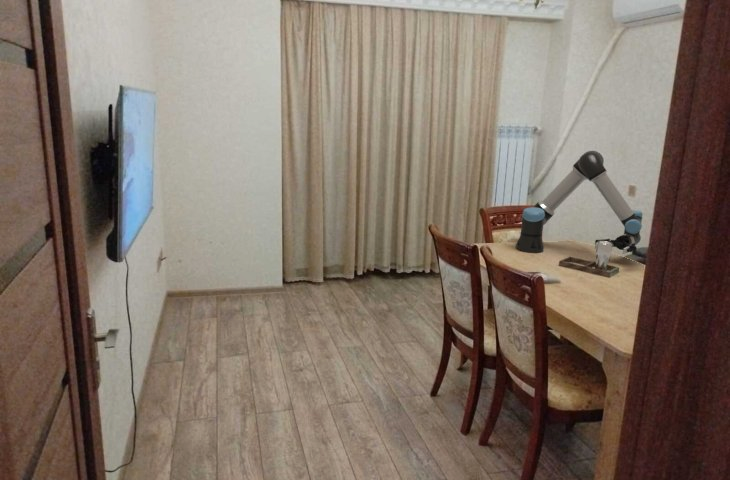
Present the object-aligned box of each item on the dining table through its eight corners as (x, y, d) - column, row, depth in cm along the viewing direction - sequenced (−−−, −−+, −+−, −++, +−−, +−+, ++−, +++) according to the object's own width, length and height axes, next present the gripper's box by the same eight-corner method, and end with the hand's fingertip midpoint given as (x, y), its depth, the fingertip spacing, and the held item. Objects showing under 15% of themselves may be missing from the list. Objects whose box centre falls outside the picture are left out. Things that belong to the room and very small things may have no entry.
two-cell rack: (558, 265, 262) (559, 260, 262) (569, 261, 271) (569, 256, 271) (609, 277, 245) (609, 272, 245) (618, 272, 254) (619, 267, 254)
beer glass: (592, 272, 253) (596, 242, 249) (593, 268, 259) (598, 240, 255) (607, 274, 250) (612, 245, 246) (608, 271, 256) (613, 242, 252)
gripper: (648, 253, 265) (634, 261, 250) (599, 244, 281) (583, 250, 267) (651, 239, 263) (637, 246, 248) (601, 230, 280) (585, 236, 265)
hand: (609, 248), depth 257 cm, fingers open, 13 cm apart
